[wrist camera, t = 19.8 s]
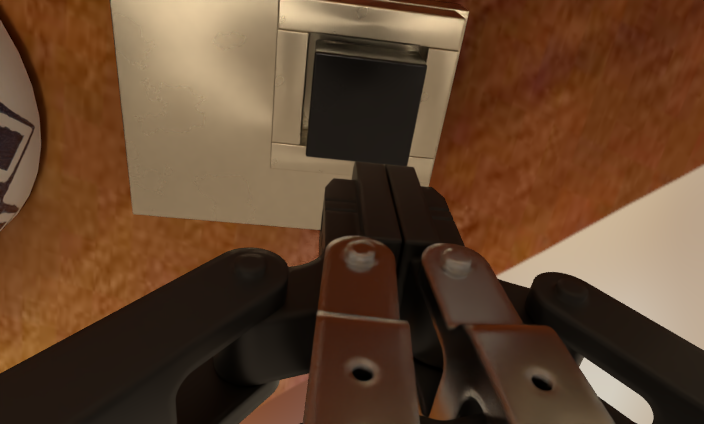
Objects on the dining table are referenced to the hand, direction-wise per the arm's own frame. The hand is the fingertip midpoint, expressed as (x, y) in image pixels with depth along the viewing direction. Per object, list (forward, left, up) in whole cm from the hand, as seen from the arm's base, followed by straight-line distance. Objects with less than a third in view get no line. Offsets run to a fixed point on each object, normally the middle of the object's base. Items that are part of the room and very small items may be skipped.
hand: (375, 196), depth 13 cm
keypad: (+3, +2, -12) cm, 12 cm away
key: (0, 0, -8) cm, 8 cm away
